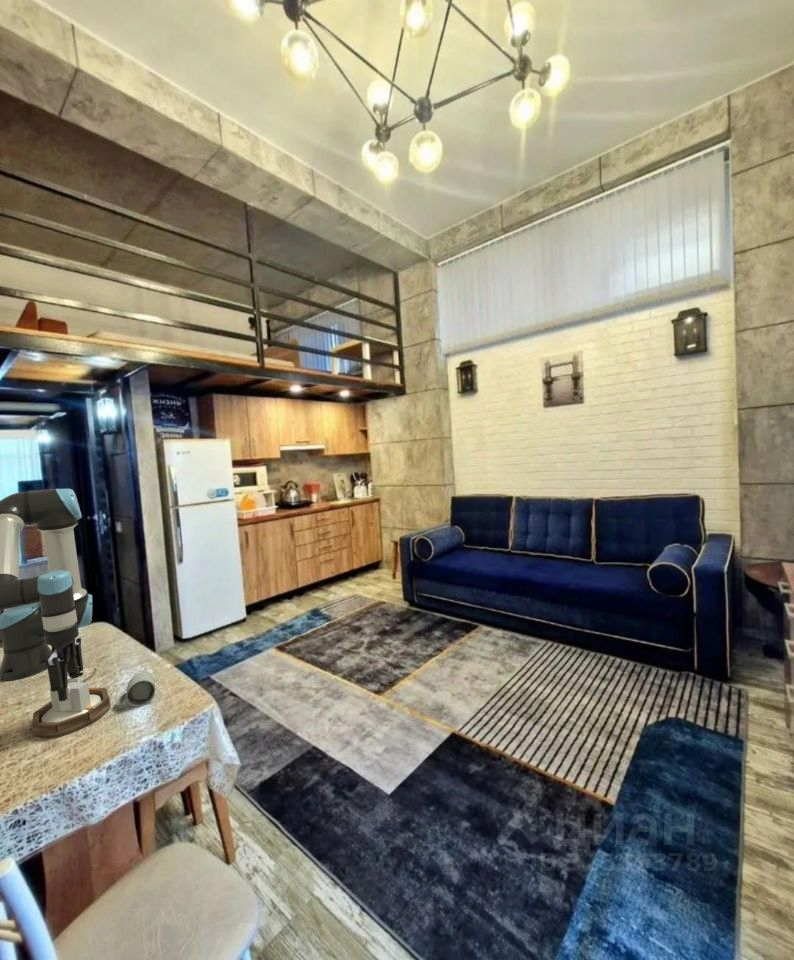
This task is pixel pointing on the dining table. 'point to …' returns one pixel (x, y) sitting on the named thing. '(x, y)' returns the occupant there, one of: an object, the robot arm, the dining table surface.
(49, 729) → the dial housing
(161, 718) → the dining table surface
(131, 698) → the ceramic mug
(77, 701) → the dial
